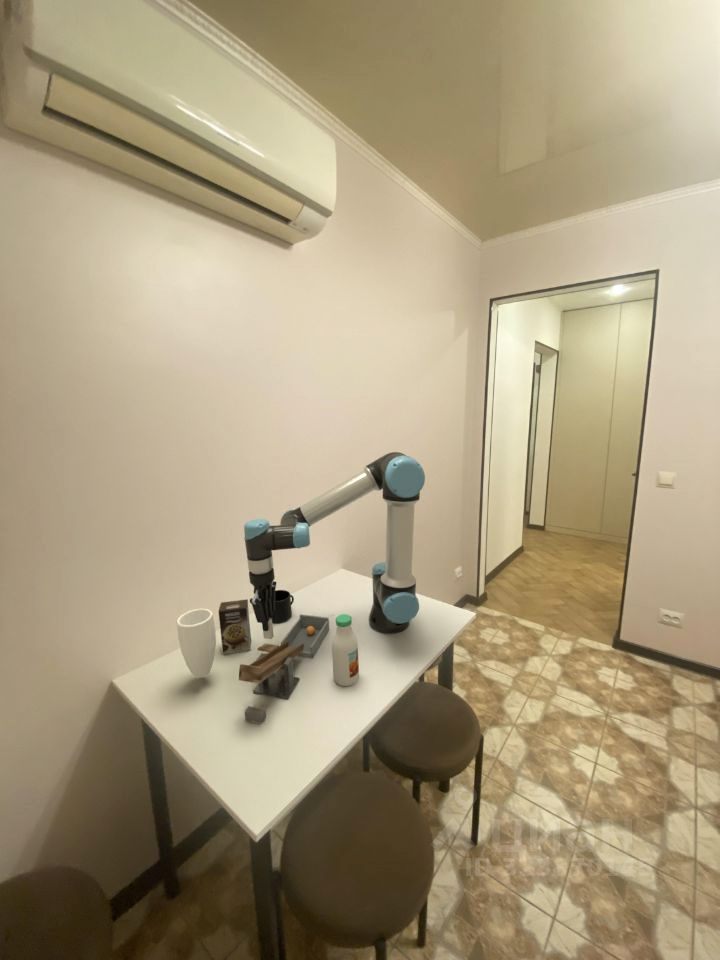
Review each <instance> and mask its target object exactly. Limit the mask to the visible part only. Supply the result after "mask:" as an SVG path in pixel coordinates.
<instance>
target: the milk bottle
mask: <svg viewBox="0 0 720 960" xmlns="http://www.w3.org/2000/svg"><path fill="white" fill-rule="evenodd" d="M352 621H353V620H352V616H351V615H349V614H347V613H343V614H339V615H337V616H336V617H335V626H336V630H335V633H334V636H333V638H332V643H331V654H332V655H331V657H332V674H333V681H334V682H335V683H336V684H337V685H339V686H342V687H349V686H353V685H355V684H356V683H357V681H358V680H359V677H360V667H359V666H360V665H359V647H358V638H357V636H356V634H355V632H354V631H353V628H352V624H353V623H352Z"/></svg>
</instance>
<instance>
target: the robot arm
mask: <svg viewBox="0 0 720 960" xmlns="http://www.w3.org/2000/svg"><path fill="white" fill-rule="evenodd" d="M425 483H426V475H425V470H424V469H423V467H422V465H421V464H420V463H419V462H418V461H417V460H416V459H414V457H411V456H409V455H406V454H404V453H402V452H398V451H393V452H389V453H386V454H383V456H380V457H379V458H378V459H375V460H374V461H373V462H370V463H369V464H367V465H366V466H364V468H363V470H362V471H361V472H359V473H356V474H355V475H354V476H352V477H350V478H349V479H347V480H345V481H343V482H341V483H339V484H338V485H336V486H333V487H332V488H331V489H329V490H327V491H326V492H323V493H322V494H320V495H318V496H316V497H314V498H313V499H311V500H309V501H308V502H306V503H304V504H303V505H301V506H299V507H296V508H295V509H289V510H286V511H285V512H284V513H283V515H282V516H281V517H280V518H281V519H280V524H278V525H271V524H270V523H269V520H267V519H266V518H265V519H264V518H256V519H255V518H254V519H251V520H248V521H246V523H245V524H244V525H243V529H244V539H243V540H244V544H245V545H244V546H245V550H246V558H247V566H248V567H247V568H248V576H249V583H250V584H251V585H252V586H253V597H251V598H250V599H249V603H250V604H251V605H252V609H253V613H254V615H255V619H256V622H257V623H261V627H262V631H263V633H262V634H263V635H262V636H263V639H266V640H272V639H273V638H274V637H275V636H274V627H273V623H272V617H273V618H274V617H275V615H274V614H273V612H275V591H276V588H277V581H276V580H275V577H276V576H275V569H274V559H273V551H281V550H291V549H292V550H293V549H301V548H307V547H309V546H310V544H311V537H310V527H311V526H313V525H314V524H316V523H318V522H320V521H322V520H324V519H325V518H327V517H329V516H331V515H333V514H334V513H336V512H338V511H339V510H341V509H343V508H345V507H347V506H348V505H351V504H352V503H354V502H356V501H357V500H359V499H361V498H363V497H365V496H366V495H368V494H370V493H371V492H374V491H378V492H379V491H381V490H382V499H383V501H385V503H386V508H387V509H386V534H385V535H386V538H385V539H386V540H385V541H386V543H385V545H386V546H385V561H383V562H378V563H376V564H374V565H373V567H372V570H371V571H372V572H371V576H372V579H371V580H372V601H373V602H372V605H371V606H372V607H371V608H370V612H369V615H368V624H369V627H370V628H372V629H373V630H374V631H376V632H379V633H383V634H397V633H401V632H403V631H405V630H406V629H407V628H408V627H409V626H410V621H411V620H412V619H413V618H415V617H416V616H417V614H418V613H419V610H420V601H419V598H418V597H417V594H416V592H417V591H416V590H417V589H416V588H417V578H416V577H415V576H414V575H413V574H412V573H413V572H412V569H413V547H414V526H415V525H414V523H415V521H414V519H415V504H416V503H418V502H419V501H420V495H421V490H423V488H424V486H425ZM274 580H275V581H274Z"/></svg>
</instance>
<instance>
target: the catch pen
mask: <svg viewBox="0 0 720 960" xmlns="http://www.w3.org/2000/svg"><path fill="white" fill-rule="evenodd" d="M309 626H313V627H314V629H315V632H314V634H312V635H309V634H307V632H306V630H307V628H308V627H309ZM329 632H330V619H329V617H325V616H319V615H318V616H317V615H308V614H299V618H298V619H297V620H296V622H294V625H293V626H292V627H291V628H290V630H289V631H288V633H287V634H286V635H285V636H284V638H283V639H282V640H281V641H280V645H282V644H283V643H285V642H287V641H288V642H289V643H288V646H289V647H298V646H299V645H301V644H304V649H303V652H302V653H300V654H299V655H298V656H297V657H301V658H309V659H314V657H315V656H316V655H317V652H318V650H319V649H320V647H321V645H322V644H323V641H324V640H325V638H326V637H327V634H328V633H329Z"/></svg>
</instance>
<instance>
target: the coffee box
mask: <svg viewBox="0 0 720 960" xmlns="http://www.w3.org/2000/svg"><path fill="white" fill-rule="evenodd" d="M248 601H249V600H248V599H237V600H230V601H223V602H220V604H219V609H218V620H219V628H220V636H221V637H220V639H221V650H222V655H224V656H225V655H231V654H237V653H238V654H239V653H243V652H244V653H245V652H249V651H251V649H252V648H251V647H252V633H251V623H250V613H249V602H248Z"/></svg>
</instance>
